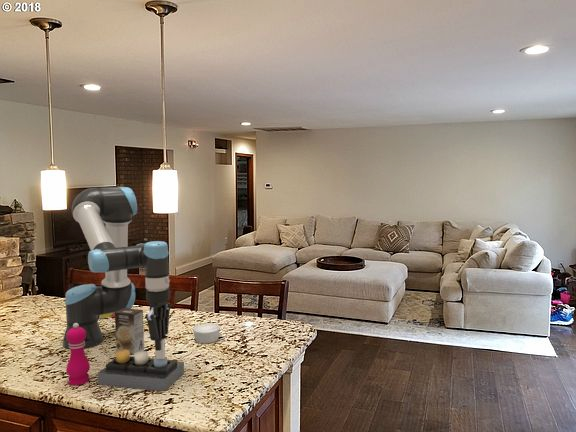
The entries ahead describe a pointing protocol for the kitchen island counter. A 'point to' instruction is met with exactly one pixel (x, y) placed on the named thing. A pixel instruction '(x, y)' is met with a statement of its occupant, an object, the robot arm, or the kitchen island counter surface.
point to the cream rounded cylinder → (141, 358)
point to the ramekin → (206, 333)
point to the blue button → (160, 362)
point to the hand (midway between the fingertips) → (160, 358)
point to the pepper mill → (77, 356)
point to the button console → (141, 374)
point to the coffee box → (129, 330)
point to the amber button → (122, 356)
